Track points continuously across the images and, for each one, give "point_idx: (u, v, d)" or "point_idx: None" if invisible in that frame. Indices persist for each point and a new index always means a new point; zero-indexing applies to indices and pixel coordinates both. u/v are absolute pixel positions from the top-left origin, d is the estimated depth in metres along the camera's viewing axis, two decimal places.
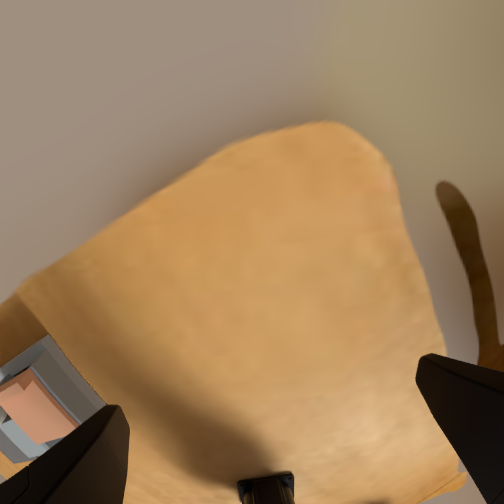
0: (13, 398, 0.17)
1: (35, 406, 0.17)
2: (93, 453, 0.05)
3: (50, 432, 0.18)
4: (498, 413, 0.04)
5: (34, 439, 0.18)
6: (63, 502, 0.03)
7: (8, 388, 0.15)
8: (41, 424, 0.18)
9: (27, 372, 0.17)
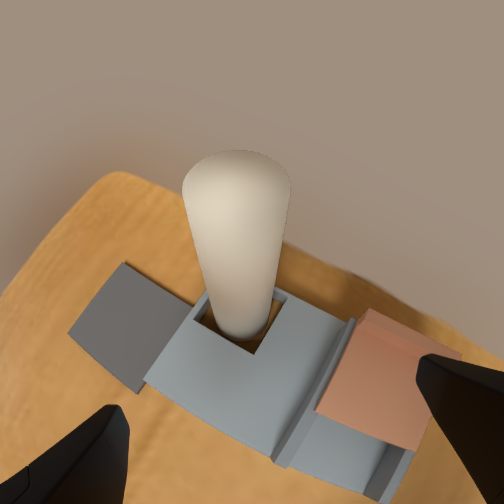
0: (393, 354, 0.16)
1: (410, 387, 0.15)
2: (94, 453, 0.05)
3: (378, 422, 0.14)
4: (498, 413, 0.04)
5: (328, 404, 0.15)
6: (63, 502, 0.03)
7: (442, 345, 0.15)
8: (382, 406, 0.15)
9: None
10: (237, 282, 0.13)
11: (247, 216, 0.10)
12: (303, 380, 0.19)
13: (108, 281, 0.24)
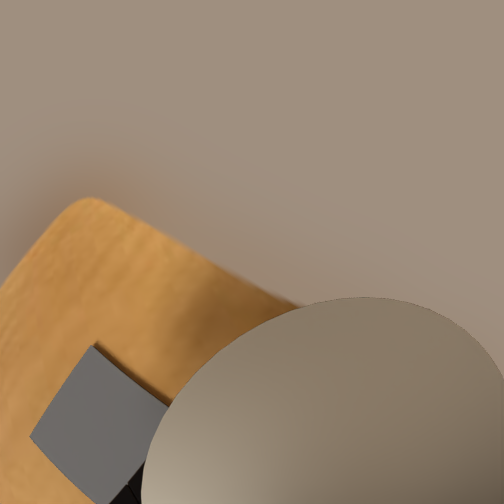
0: None
1: None
2: None
3: None
4: None
5: None
6: None
7: None
8: None
9: None
10: None
11: None
12: None
13: (73, 373, 0.15)
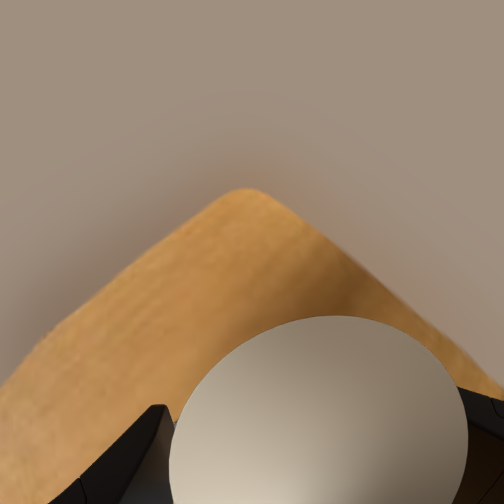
0: None
1: None
2: (150, 457, 0.05)
3: None
4: None
5: None
6: None
7: None
8: None
9: None
10: None
11: None
12: None
13: None
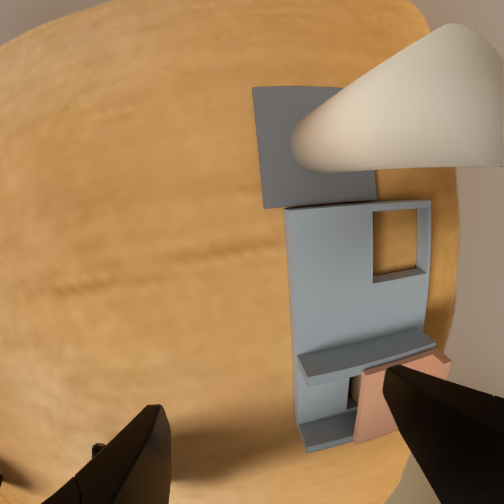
0: None
1: None
2: (145, 457, 0.05)
3: (370, 413, 0.18)
4: (463, 435, 0.04)
5: (373, 379, 0.18)
6: None
7: None
8: (383, 406, 0.18)
9: None
10: (378, 150, 0.09)
11: (477, 139, 0.05)
12: (370, 331, 0.21)
13: (338, 90, 0.18)
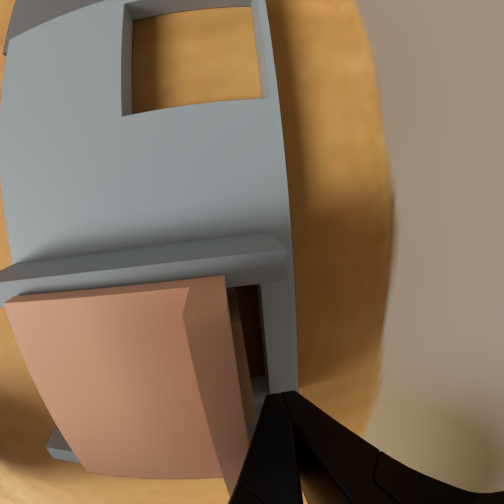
0: (188, 393, 0.07)
1: (156, 441, 0.08)
2: None
3: (67, 413, 0.07)
4: (328, 491, 0.04)
5: (22, 318, 0.06)
6: None
7: None
8: (91, 410, 0.07)
9: None
10: None
11: None
12: (133, 226, 0.10)
13: None
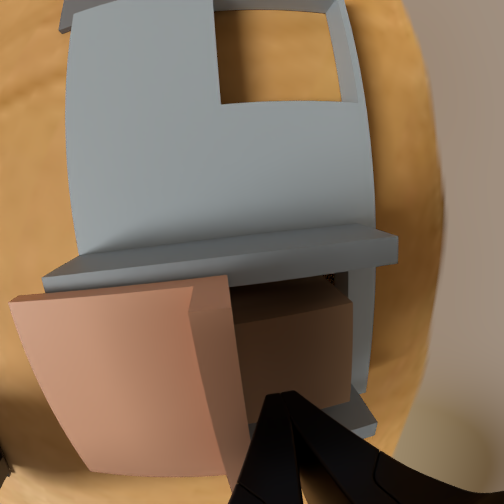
0: (191, 390, 0.07)
1: (159, 438, 0.08)
2: None
3: (71, 411, 0.07)
4: (328, 491, 0.04)
5: (27, 318, 0.07)
6: None
7: None
8: (95, 408, 0.07)
9: None
10: None
11: None
12: (232, 215, 0.10)
13: None
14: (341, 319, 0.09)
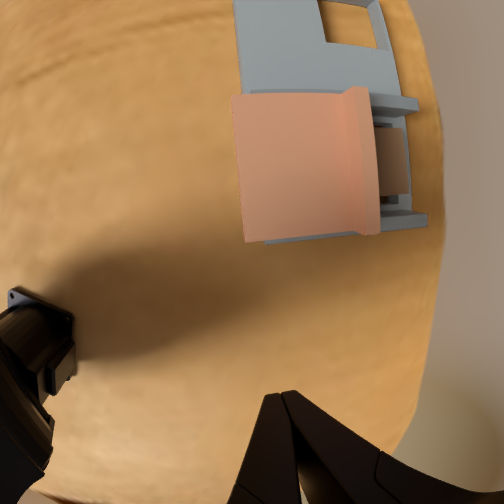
0: (338, 148, 0.14)
1: (313, 189, 0.14)
2: None
3: (256, 170, 0.14)
4: (329, 490, 0.04)
5: (245, 103, 0.13)
6: None
7: (378, 199, 0.13)
8: (276, 164, 0.14)
9: None
10: None
11: None
12: None
13: None
14: (397, 135, 0.15)
